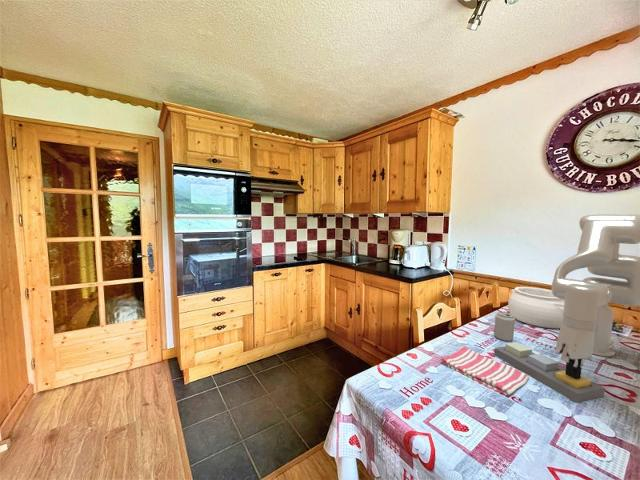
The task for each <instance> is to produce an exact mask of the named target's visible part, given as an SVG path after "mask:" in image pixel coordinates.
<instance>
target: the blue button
mask: <svg viewBox="0 0 640 480" xmlns="http://www.w3.org/2000/svg"><path fill="white" fill-rule="evenodd" d="M528 363H530V364H532V365H534V366H536V367H537V368H539V369H541V370H543V371H545V372H549V371H555V370H558V365H559V366H560V362H559V361H557V360H555V359H553V358H551V357H548V356H547V355H544V354H542V353H535V354H534V355H528Z"/></svg>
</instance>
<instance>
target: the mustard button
mask: <svg viewBox="0 0 640 480" xmlns="http://www.w3.org/2000/svg"><path fill="white" fill-rule="evenodd" d="M565 372H566V370H565V371H560V372H556V375H555V377H556V378H558V379H560V380H562V381H564V382H565V383H567V384H569V385H571V386H573V387H575V388H577V389H580V388H584V387H589V386H590V383H591V381H592V380H591V379H588V378H586V377H584V376H582V375H581V378H580V379H574V378H572V377H570V376H568V375H566V374H565Z"/></svg>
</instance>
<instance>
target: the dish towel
mask: <svg viewBox="0 0 640 480" xmlns="http://www.w3.org/2000/svg"><path fill="white" fill-rule="evenodd" d="M440 360H441V362H442V364H443V365H445V366H447V367H448V368H450V369H452V370H453V371H456V372H457V373H460V374H462V375H463V376H466V377H468V378H469V379H471V380H473V381H475V382H477V383H480V384H482V385H484V386H485V387H488V388H489V389H492V390H493V391H495V392H498V393H500V394H503V395H505V396H507V397H508V396H511V394H513V393H514V392H516V390H518V389H519V388H521V387H523V386H524V385H526V383H527V382H528V380H530V377H529V375H528V374H526V373H524V372H523V371H521V370H519V369H517V368H516V367H513V366H512V365H507V364H505V363H502V362H499V361H496V360H494V359H491V358H489V357H487V356H484V355H483V354H481V353H480V352H476V351H475V350H473V349H471V348H468V347H467V346H466V345H462V346H461V347H460V348H459V349H458V350H457V351H455V352H453V353H451V354H449V355H444V356H442V357H441V358H440Z"/></svg>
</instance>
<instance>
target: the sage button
mask: <svg viewBox="0 0 640 480" xmlns="http://www.w3.org/2000/svg"><path fill="white" fill-rule="evenodd" d="M504 344H505V346H504V347H505V350H506V351H507V352H509V353H511V354H513V355H515V356H517V357H519V358H524V357H528V355H532V352H533V349H532V348H530V347H528V346H526V345H523V344H521V343H520V342H516V341H515V342H509V343H504Z"/></svg>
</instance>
